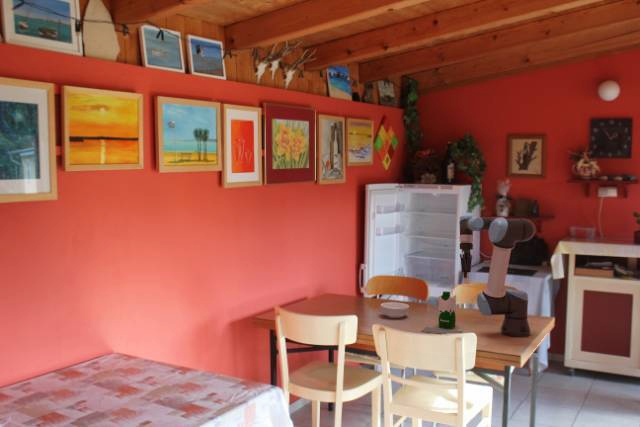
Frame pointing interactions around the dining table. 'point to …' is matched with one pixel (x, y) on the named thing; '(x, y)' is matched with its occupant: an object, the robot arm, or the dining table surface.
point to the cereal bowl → (394, 309)
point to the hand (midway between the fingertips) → (466, 283)
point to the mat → (439, 330)
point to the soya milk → (447, 310)
